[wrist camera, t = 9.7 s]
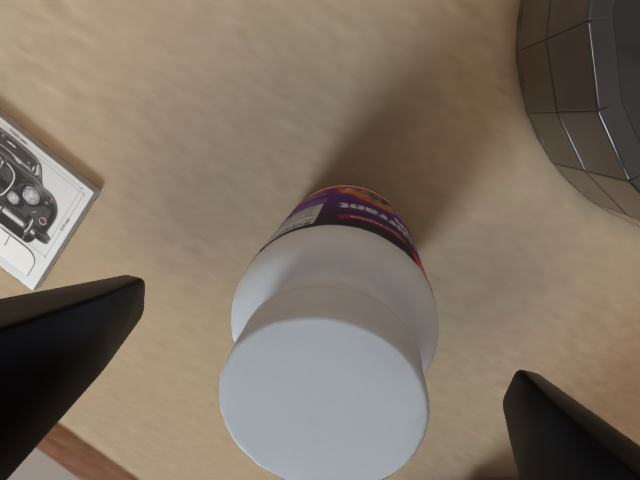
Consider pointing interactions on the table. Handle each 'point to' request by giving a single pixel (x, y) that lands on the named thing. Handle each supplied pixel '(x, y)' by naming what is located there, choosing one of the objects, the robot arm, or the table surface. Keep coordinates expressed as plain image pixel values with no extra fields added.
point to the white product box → (36, 204)
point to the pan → (586, 94)
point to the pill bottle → (332, 343)
